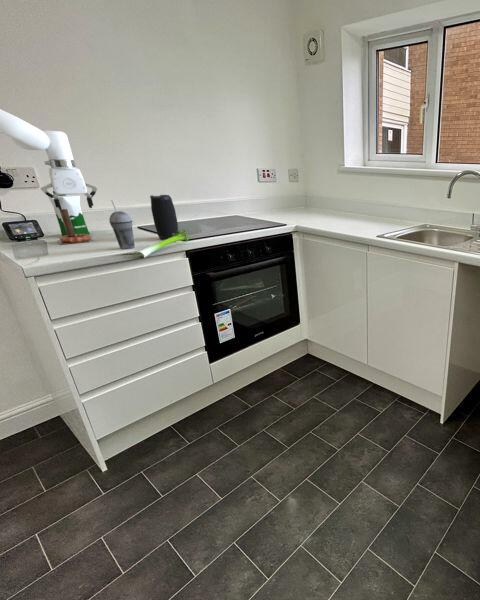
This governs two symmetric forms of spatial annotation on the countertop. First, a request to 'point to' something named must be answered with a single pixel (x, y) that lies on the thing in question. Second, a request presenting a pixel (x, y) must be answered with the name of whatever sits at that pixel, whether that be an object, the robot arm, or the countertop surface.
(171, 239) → the leek
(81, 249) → the countertop surface
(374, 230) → the countertop surface
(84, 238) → the ring
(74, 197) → the milk carton
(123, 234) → the beverage cup
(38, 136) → the robot arm
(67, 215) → the peg stand
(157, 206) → the portable speaker
